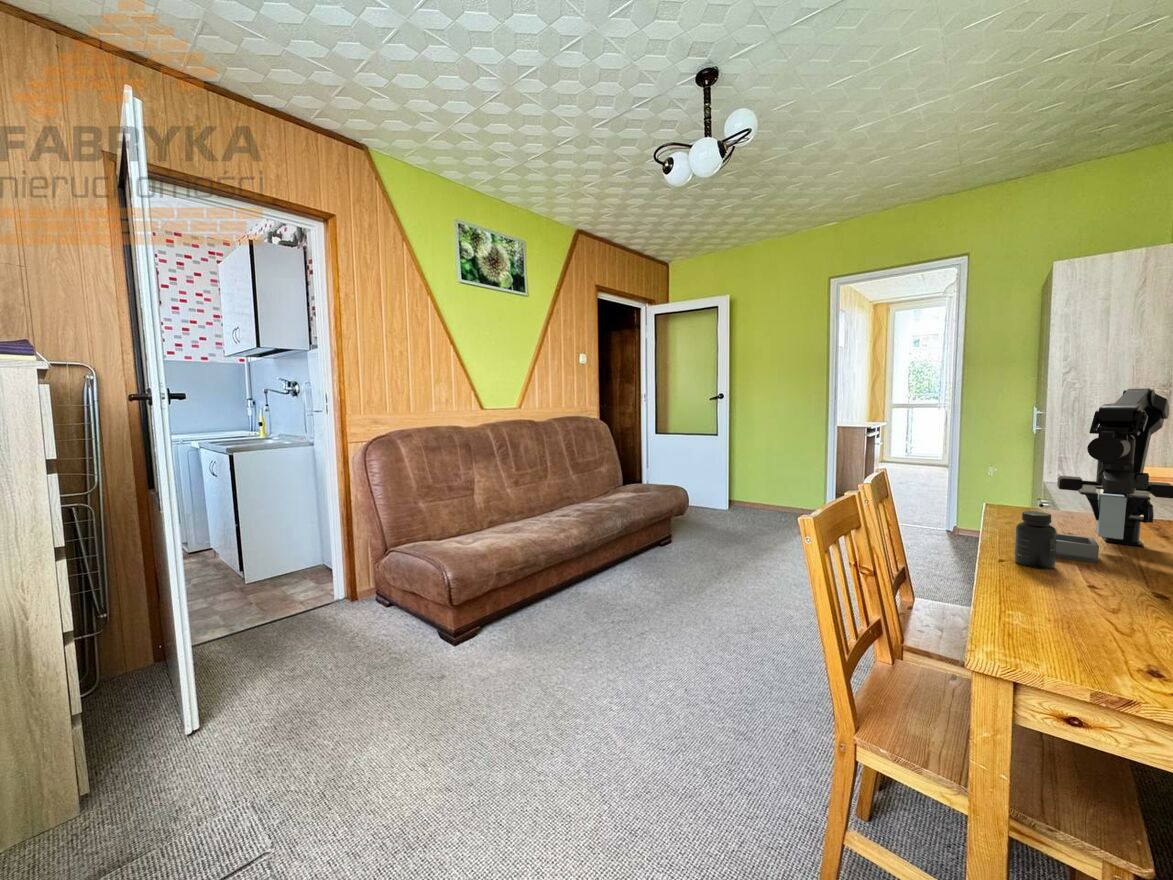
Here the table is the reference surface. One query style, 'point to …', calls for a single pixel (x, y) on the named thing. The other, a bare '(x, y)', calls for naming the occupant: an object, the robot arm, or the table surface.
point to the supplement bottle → (1035, 541)
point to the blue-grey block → (1111, 515)
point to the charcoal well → (1077, 548)
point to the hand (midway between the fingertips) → (1110, 521)
